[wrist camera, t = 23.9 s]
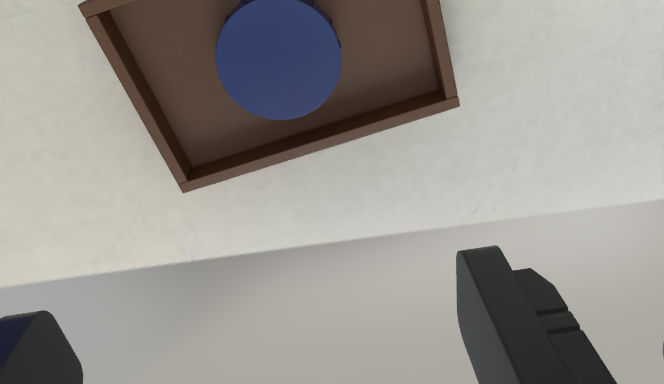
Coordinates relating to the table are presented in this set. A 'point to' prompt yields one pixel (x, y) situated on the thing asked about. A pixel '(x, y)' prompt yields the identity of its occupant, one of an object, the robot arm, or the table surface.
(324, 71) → the jar lid
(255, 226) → the table surface
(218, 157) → the tray
